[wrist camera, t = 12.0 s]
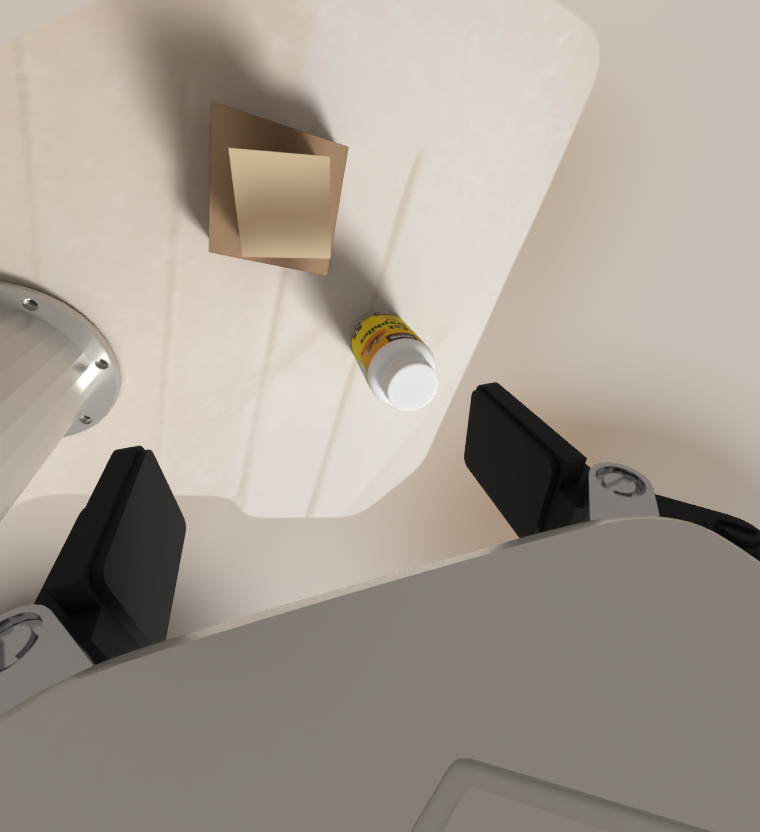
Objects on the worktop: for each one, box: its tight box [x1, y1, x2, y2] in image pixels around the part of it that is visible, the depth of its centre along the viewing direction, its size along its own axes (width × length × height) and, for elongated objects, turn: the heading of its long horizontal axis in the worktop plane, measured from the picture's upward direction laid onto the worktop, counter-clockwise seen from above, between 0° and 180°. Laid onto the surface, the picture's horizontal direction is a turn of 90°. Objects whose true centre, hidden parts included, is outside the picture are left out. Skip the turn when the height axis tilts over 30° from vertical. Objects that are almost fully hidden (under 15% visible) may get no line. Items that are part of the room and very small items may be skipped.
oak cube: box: [228, 148, 331, 259], centre depth 22 cm, size 5×5×5 cm
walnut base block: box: [209, 102, 348, 276], centre depth 26 cm, size 8×8×4 cm
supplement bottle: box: [351, 311, 438, 411], centre depth 31 cm, size 6×6×10 cm
